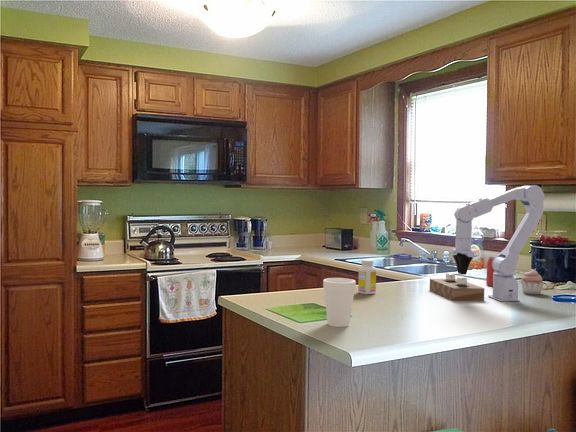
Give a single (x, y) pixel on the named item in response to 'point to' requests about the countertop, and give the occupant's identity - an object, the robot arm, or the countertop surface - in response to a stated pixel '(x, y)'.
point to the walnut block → (456, 290)
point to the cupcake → (532, 283)
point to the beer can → (490, 272)
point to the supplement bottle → (367, 277)
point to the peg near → (462, 281)
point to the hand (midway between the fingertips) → (462, 274)
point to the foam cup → (339, 300)
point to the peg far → (450, 277)
